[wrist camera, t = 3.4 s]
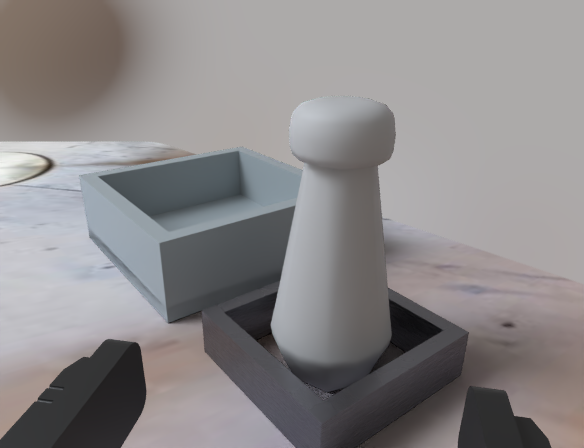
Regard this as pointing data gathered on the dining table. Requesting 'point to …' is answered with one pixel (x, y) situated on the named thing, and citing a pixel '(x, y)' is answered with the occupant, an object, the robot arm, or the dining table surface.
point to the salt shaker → (336, 244)
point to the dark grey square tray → (350, 401)
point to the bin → (194, 225)
